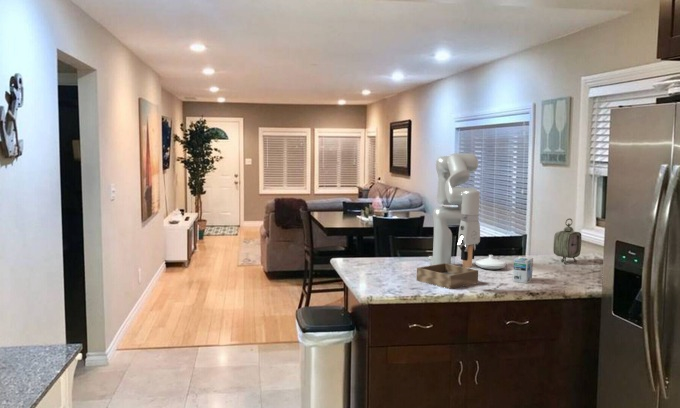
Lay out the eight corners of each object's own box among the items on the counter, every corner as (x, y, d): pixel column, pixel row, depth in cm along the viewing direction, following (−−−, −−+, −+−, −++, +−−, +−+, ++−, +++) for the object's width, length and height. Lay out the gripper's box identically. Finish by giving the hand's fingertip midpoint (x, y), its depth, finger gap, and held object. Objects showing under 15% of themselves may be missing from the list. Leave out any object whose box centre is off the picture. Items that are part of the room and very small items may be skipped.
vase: (512, 271, 295) (512, 257, 294) (484, 272, 290) (485, 258, 289) (495, 264, 310) (496, 252, 309) (469, 265, 305) (470, 252, 304)
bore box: (416, 280, 267) (417, 267, 267) (444, 275, 280) (444, 263, 280) (450, 289, 252) (450, 275, 252) (477, 283, 265) (478, 270, 264)
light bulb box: (526, 283, 267) (528, 261, 266) (512, 281, 270) (513, 259, 269) (532, 279, 276) (533, 257, 275) (518, 277, 279) (519, 255, 278)
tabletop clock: (566, 265, 313) (569, 220, 310) (551, 262, 320) (554, 218, 317) (580, 262, 322) (583, 218, 319) (565, 259, 329) (567, 216, 326)
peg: (460, 266, 252) (461, 243, 250) (466, 264, 254) (467, 242, 253) (467, 267, 248) (469, 245, 247) (473, 266, 251) (474, 244, 250)
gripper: (464, 220, 240) (462, 263, 243) (488, 217, 251) (486, 258, 253) (450, 218, 246) (448, 260, 248) (474, 215, 257) (472, 255, 259)
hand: (467, 258), depth 251 cm, fingers closed on peg, 4 cm apart
